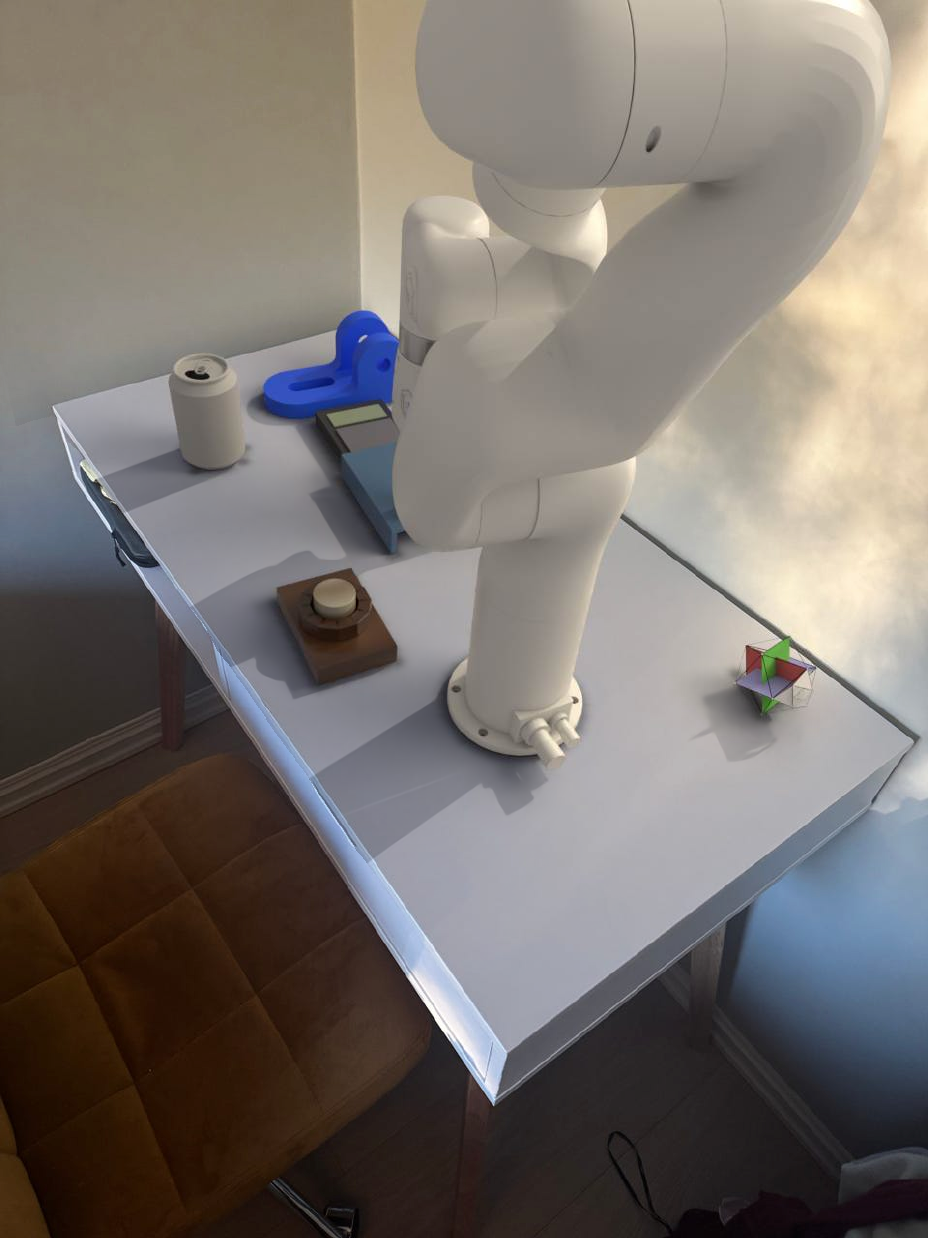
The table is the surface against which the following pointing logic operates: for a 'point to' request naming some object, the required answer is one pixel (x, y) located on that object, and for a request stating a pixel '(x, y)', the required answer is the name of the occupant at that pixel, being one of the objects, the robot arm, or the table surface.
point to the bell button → (334, 599)
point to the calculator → (357, 426)
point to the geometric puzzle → (777, 676)
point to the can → (207, 411)
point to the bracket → (339, 372)
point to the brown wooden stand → (336, 631)
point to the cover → (374, 488)
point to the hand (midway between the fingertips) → (428, 492)
